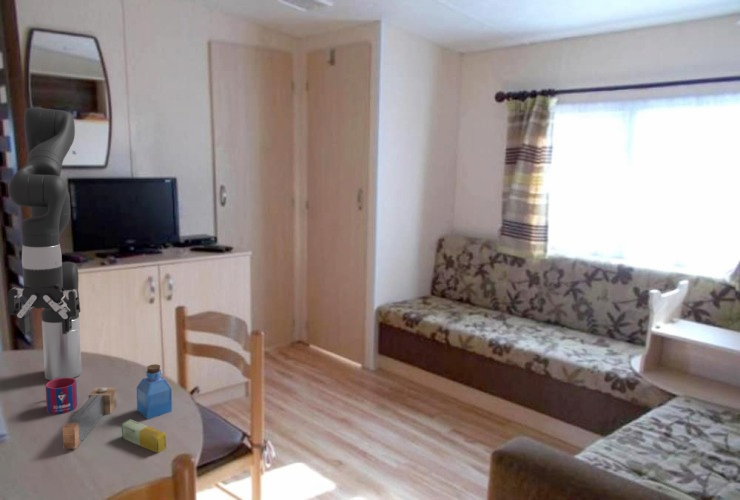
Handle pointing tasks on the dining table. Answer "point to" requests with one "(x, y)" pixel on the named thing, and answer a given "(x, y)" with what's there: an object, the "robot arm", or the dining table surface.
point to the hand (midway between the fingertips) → (46, 332)
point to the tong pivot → (106, 398)
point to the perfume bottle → (154, 394)
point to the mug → (61, 395)
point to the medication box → (144, 435)
